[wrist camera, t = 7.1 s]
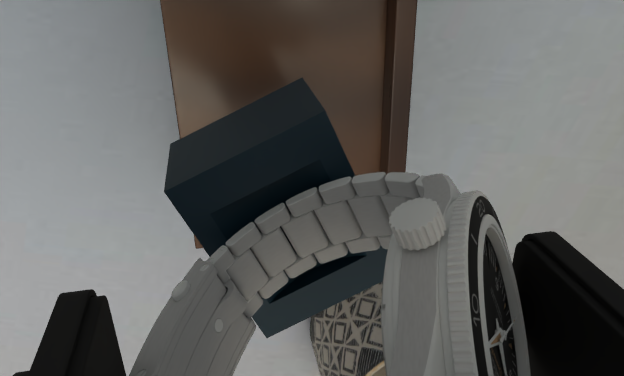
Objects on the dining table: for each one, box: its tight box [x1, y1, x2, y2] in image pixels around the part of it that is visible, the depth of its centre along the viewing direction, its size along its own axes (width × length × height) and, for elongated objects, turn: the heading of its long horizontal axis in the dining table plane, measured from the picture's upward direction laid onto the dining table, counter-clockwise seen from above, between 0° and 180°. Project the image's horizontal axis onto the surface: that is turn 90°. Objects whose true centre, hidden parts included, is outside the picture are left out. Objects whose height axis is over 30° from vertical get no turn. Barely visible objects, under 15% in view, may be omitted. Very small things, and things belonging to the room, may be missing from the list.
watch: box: [129, 78, 531, 376], centre depth 11 cm, size 6×8×11 cm
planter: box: [310, 281, 386, 376], centre depth 38 cm, size 13×13×10 cm
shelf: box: [160, 0, 417, 249], centre depth 27 cm, size 16×11×9 cm
